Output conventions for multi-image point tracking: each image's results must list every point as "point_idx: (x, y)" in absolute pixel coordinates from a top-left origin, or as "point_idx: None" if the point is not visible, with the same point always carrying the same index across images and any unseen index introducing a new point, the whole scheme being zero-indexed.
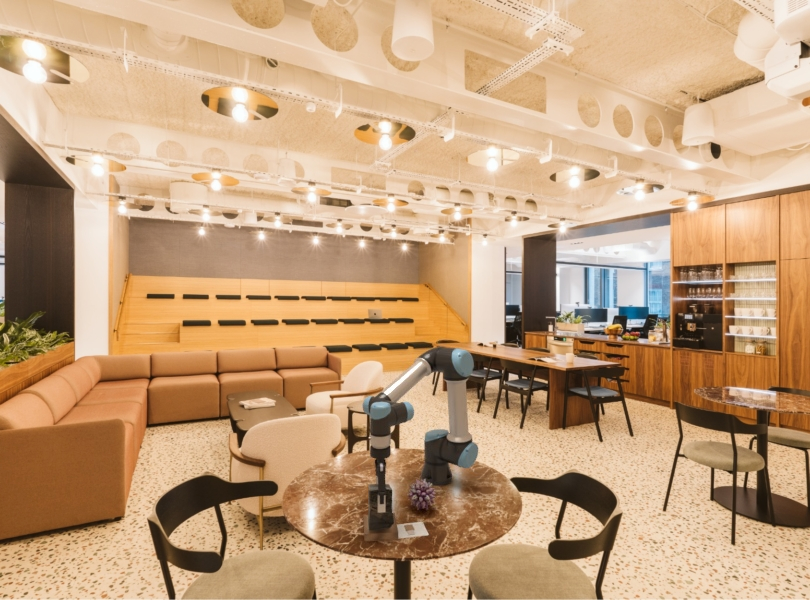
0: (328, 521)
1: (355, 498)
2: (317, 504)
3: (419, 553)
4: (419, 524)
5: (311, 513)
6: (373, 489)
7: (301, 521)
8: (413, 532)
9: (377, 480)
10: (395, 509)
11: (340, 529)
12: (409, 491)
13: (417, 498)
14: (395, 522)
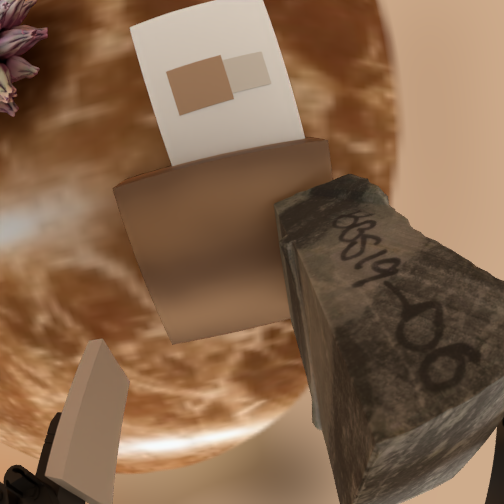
0: (194, 413)
1: (29, 365)
2: None
3: (392, 53)
4: (159, 36)
5: (164, 445)
6: (466, 462)
7: (209, 451)
8: (249, 59)
9: (103, 474)
10: (30, 197)
11: (237, 378)
12: None
13: (1, 65)
14: (224, 163)
